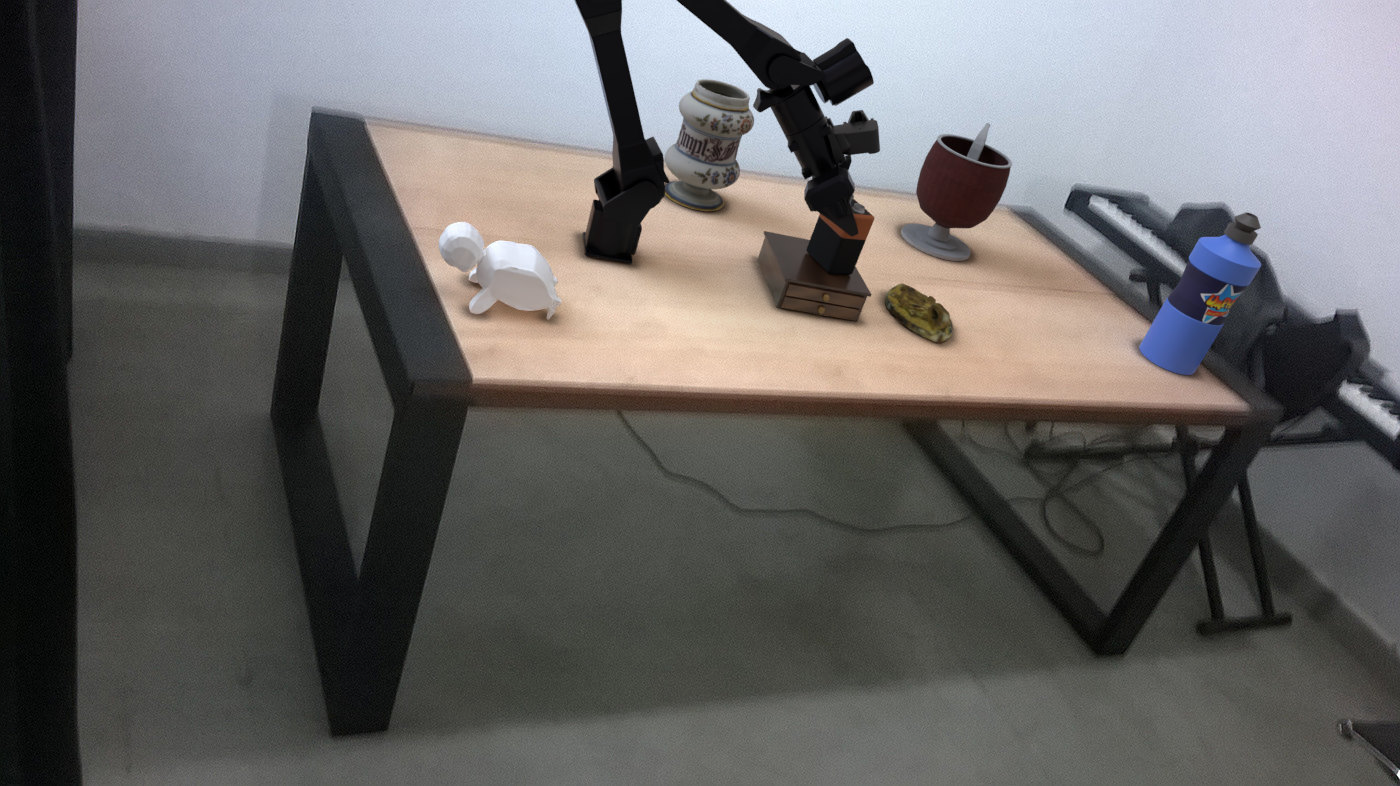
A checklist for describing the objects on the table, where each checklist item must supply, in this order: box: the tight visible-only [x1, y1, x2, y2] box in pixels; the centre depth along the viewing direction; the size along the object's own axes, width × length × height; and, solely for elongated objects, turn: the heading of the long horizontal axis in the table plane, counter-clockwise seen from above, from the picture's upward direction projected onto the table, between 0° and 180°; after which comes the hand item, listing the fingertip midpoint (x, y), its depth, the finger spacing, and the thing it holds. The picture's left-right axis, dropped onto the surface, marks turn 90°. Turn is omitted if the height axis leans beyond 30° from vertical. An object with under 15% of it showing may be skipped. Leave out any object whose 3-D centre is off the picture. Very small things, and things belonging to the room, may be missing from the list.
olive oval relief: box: [884, 283, 954, 343], centre depth 154 cm, size 9×5×15 cm
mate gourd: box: [900, 122, 1013, 262], centre depth 178 cm, size 16×14×20 cm
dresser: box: [756, 230, 872, 322], centre depth 150 cm, size 13×16×5 cm
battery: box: [807, 193, 875, 275], centre depth 147 cm, size 4×7×10 cm, turn 25°
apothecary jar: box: [664, 78, 755, 212], centre depth 165 cm, size 12×12×18 cm
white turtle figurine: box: [438, 221, 562, 320], centre depth 123 cm, size 9×8×15 cm
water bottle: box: [1138, 212, 1262, 376], centre depth 161 cm, size 9×9×25 cm
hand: (854, 224), depth 146 cm, fingers closed on battery, 7 cm apart
